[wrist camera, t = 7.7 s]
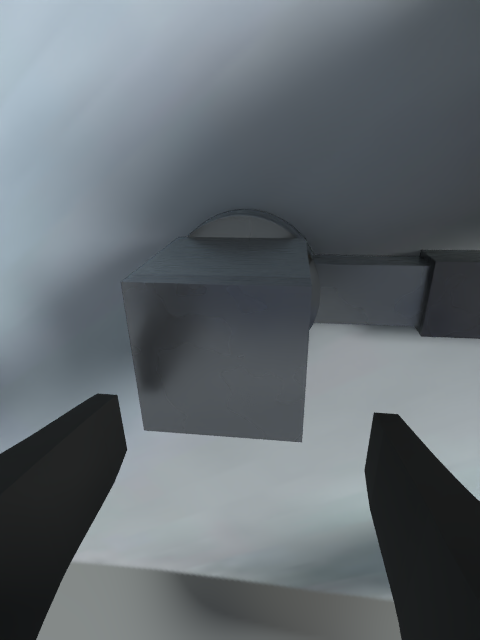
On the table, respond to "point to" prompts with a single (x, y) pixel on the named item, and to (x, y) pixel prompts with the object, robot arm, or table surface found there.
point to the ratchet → (376, 281)
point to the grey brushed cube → (222, 336)
